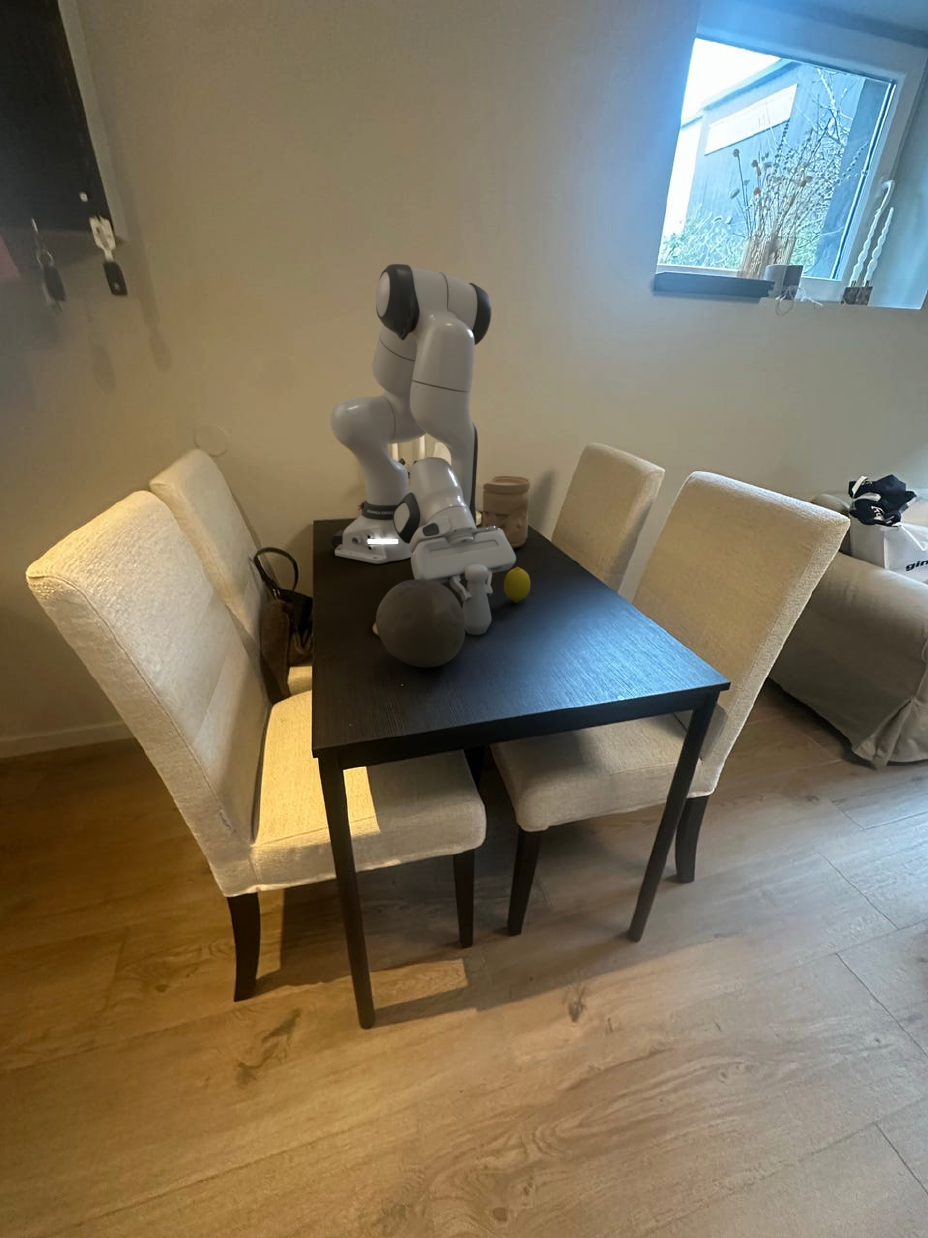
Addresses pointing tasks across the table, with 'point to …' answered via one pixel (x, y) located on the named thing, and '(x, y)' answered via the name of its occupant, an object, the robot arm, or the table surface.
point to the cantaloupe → (421, 623)
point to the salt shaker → (476, 600)
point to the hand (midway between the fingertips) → (477, 597)
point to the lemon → (517, 584)
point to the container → (507, 507)
